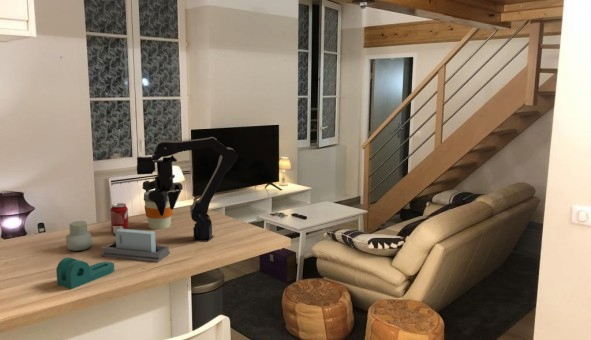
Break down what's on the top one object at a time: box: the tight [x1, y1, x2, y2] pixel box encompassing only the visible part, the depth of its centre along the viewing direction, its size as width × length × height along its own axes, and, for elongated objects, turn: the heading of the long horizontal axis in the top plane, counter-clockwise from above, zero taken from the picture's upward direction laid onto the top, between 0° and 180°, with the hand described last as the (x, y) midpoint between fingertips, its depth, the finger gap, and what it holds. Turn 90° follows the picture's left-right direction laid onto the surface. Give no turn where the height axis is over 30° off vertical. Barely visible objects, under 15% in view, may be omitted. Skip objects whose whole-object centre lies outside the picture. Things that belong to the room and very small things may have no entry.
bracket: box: [55, 257, 115, 290], centre depth 158 cm, size 18×7×8 cm, turn 151°
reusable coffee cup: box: [143, 189, 174, 230], centre depth 213 cm, size 13×13×15 cm
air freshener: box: [65, 220, 93, 252], centre depth 184 cm, size 11×8×10 cm
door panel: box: [115, 228, 156, 252], centre depth 178 cm, size 14×3×8 cm, turn 78°
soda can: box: [109, 202, 130, 235], centre depth 203 cm, size 7×7×12 cm
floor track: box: [101, 240, 171, 263], centre depth 179 cm, size 22×9×3 cm, turn 78°
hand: (167, 212), depth 193 cm, fingers open, 9 cm apart
